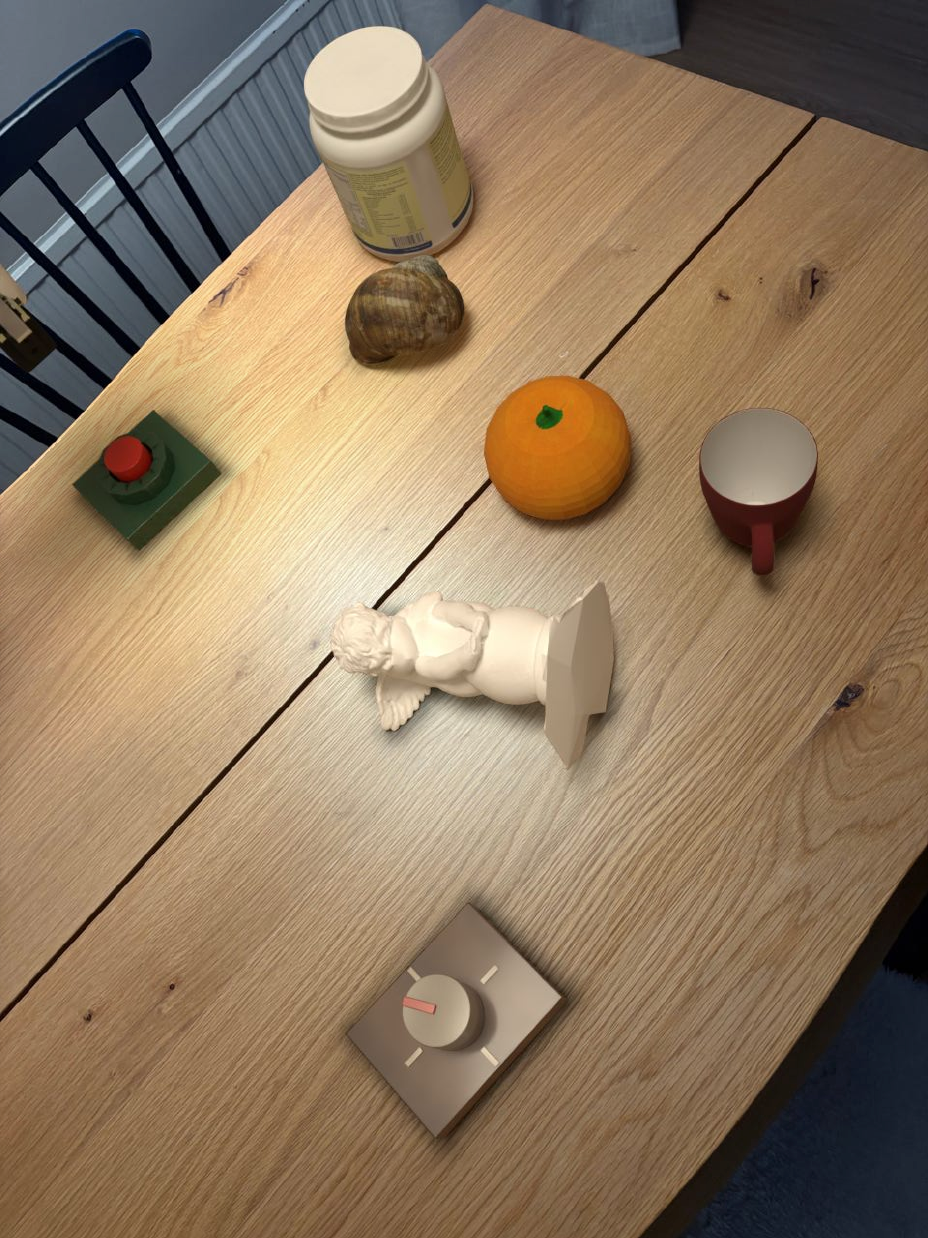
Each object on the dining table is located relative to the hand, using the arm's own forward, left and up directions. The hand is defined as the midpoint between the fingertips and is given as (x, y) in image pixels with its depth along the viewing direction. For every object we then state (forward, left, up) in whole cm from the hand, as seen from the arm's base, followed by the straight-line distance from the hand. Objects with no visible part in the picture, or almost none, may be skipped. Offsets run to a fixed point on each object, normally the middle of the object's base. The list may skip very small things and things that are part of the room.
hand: (37, 354), depth 83 cm
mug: (+29, -45, -19) cm, 57 cm away
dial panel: (-12, -53, -19) cm, 58 cm away
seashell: (+26, -8, -19) cm, 33 cm away
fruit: (+24, -29, -19) cm, 42 cm away
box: (0, 0, -19) cm, 19 cm away
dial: (-12, -53, -16) cm, 57 cm away
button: (0, 0, -15) cm, 15 cm away
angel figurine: (+6, -37, -19) cm, 42 cm away
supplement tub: (+36, +2, -19) cm, 40 cm away
